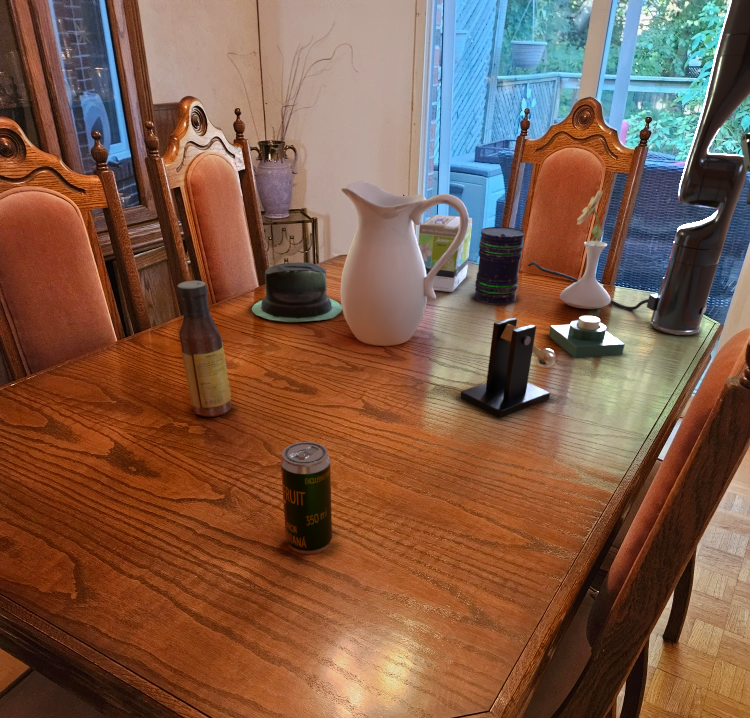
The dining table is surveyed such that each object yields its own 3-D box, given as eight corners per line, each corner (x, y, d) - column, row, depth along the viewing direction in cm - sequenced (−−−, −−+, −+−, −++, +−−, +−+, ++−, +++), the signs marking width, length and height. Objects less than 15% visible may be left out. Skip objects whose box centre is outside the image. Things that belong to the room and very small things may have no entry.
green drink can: (309, 522, 81) (305, 435, 74) (341, 540, 78) (340, 451, 71) (276, 543, 78) (269, 453, 71) (309, 562, 75) (304, 471, 68)
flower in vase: (569, 295, 161) (590, 181, 147) (616, 304, 155) (642, 187, 141) (547, 308, 152) (567, 189, 138) (596, 318, 146) (621, 195, 132)
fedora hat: (327, 287, 159) (360, 315, 144) (264, 331, 159) (290, 364, 144) (296, 231, 149) (328, 255, 134) (228, 279, 148) (253, 308, 134)
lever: (538, 366, 116) (547, 349, 115) (553, 372, 114) (562, 355, 113) (496, 338, 105) (506, 320, 105) (511, 344, 103) (521, 325, 103)
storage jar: (474, 290, 162) (481, 225, 154) (515, 293, 161) (524, 227, 153) (473, 303, 154) (480, 235, 145) (516, 305, 153) (526, 237, 144)
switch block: (548, 336, 137) (551, 316, 134) (593, 333, 139) (597, 314, 136) (574, 358, 127) (578, 337, 125) (622, 354, 129) (627, 334, 127)
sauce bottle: (239, 405, 107) (226, 280, 96) (219, 421, 103) (203, 292, 91) (203, 398, 109) (186, 275, 98) (182, 414, 104) (162, 287, 93)
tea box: (454, 293, 160) (459, 228, 152) (414, 288, 162) (417, 224, 154) (467, 277, 172) (473, 216, 164) (429, 273, 174) (433, 212, 166)
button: (573, 324, 132) (575, 316, 131) (592, 323, 133) (594, 315, 132) (583, 331, 129) (584, 322, 128) (602, 330, 130) (603, 321, 129)
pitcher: (327, 343, 131) (323, 189, 115) (360, 318, 144) (361, 176, 128) (443, 363, 123) (456, 202, 108) (467, 334, 136) (482, 186, 121)
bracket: (509, 381, 117) (519, 309, 110) (549, 399, 111) (562, 325, 104) (459, 398, 111) (467, 323, 104) (499, 418, 105) (509, 340, 98)
